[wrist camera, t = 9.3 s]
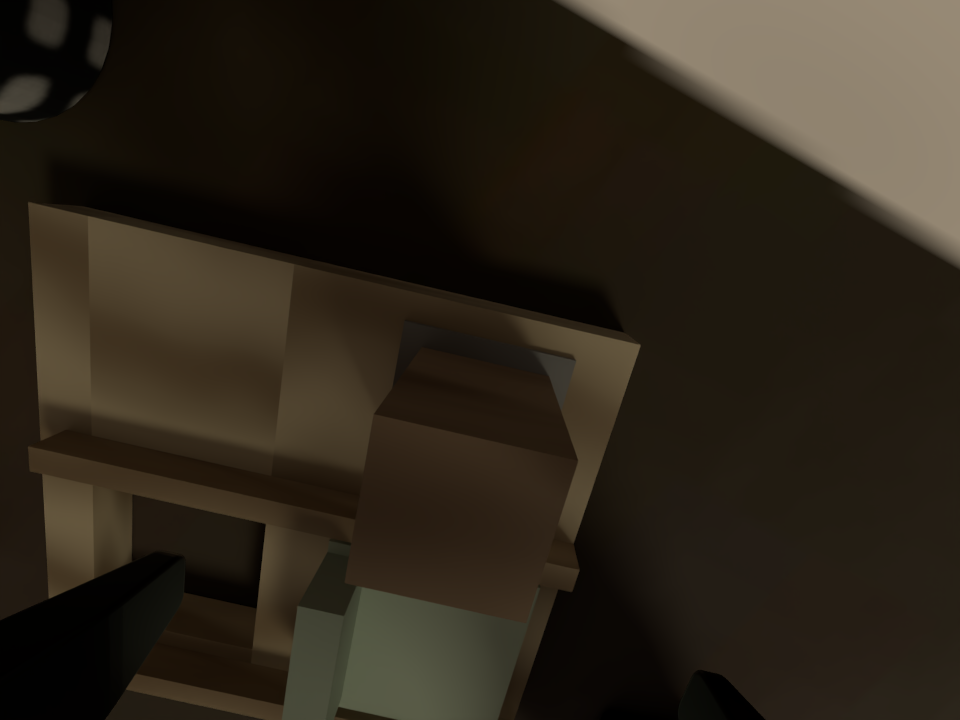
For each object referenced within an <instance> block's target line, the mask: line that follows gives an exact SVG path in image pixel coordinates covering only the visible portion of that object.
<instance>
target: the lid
mask: <svg viewBox="0 0 960 720" xmlns="http://www.w3.org/2000/svg"><path fill="white" fill-rule="evenodd" d="M350 548H351V543H350V542H345V541H341V540H336V539H332V538H331V539H330V540H329V545H328V552H327V554H326V556H325V557H324V559H323V561H322V563H321V565H320V566H319V568H318V570H317V572H316V574H315V576H314V577H313V579H312V581H311V583H310V585H309V586H308V588H307V590H306V592H305V594H304V596H303V597H302V599H301V601H300V603H299V605H298V608H297V615H296V622H295V629H294V636H293V644H292V651H291V658H290V665H289V672H288V679H287V686H286V694H285V701H284V708H283V715H282V720H334V718H335V715H336V712H337V709H338V707H342V708H346V709H351V710H355V711H360V712H365V713H369V714H374V715H378V716H383V717H388V718H392V719H397V720H498V717H499V714H500V711H501V708H502V705H503V702H504V699H505V695H506V692H507V689H508V686H509V683H510V680H511V677H512V674H513V671H514V668H515V665H516V661H517V658H518V655H519V652H520V649H521V646H522V643H523V640H524V637H525V634H526V631H527V627H528V624H529V621H530V618H531V615H532V612H533V609H534V606H535V603H536V600H537V597H538V593H539V590H540V585H538V588H537V591H536V594H535V598H534V601H533V604H532V607H531V610H530V613H529V616H528V619H527V622H526V623H522V622H517V621H513V620H508V619H504V618H499V617H495V616H490V615H486V614H481V613H477V612H472V611H468V610H463V609H459V608H454V607H450V606H445V605H441V604H436V603H432V602H427V601H423V600H418V599H414V598H409V597H405V596H400V595H396V594H391V593H387V592H382V591H378V590H373V589H368V588H364V587H359V586H355V585H350V584H346V583H344V582H345V576H346V571H347V565H348V559H349V553H350Z"/></svg>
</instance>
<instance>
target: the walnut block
mask: <svg viewBox="0 0 960 720" xmlns="http://www.w3.org/2000/svg"><path fill="white" fill-rule="evenodd" d="M577 464H578V458H577V455H576V452H575V450H574V447H573V444H572V441H571V438H570V435H569V432H568V429H567V426H566V424H565V421H564V418H563V415H562V412H561V409H560V406H559V403H558V400H557V398H556V395H555V392H554V389H553V386H552V383H551V380H550V377H549V376H545V375H541V374H537V373H532V372H528V371H524V370H519V369H515V368H511V367H506V366H502V365H498V364H493V363H489V362H485V361H480V360H476V359H472V358H468V357H463V356H459V355H455V354H450V353H446V352H442V351H437V350H433V349H429V348H424V347H421V349H420V350H419V352H418V353H417V354H416V356H415V357H414V359H413V360H412V361H411V363H410V364H409V366H408V367H407V368H406V370H405V371H404V373H403V374H402V375H401V377H400V378H399V379H398V381H397V382H396V384H395V385H394V386H393V388H392V389H391V391H390V392H389V393H388V395H387V396H386V398H385V399H384V400H383V402H382V403H381V405H380V406H379V407H378V409H377V410H376V411H375V413H374V415H373V421H372V426H371V432H370V438H369V444H368V449H367V455H366V461H365V467H364V473H363V478H362V484H361V490H360V496H359V501H358V507H357V513H356V519H355V524H354V530H353V536H352V542H351V548H350V553H349V559H348V565H347V571H346V576H345V582H344V583H346V584H350V585H355V586H359V587H364V588H368V589H373V590H378V591H382V592H387V593H391V594H396V595H400V596H405V597H409V598H414V599H418V600H423V601H427V602H432V603H436V604H441V605H445V606H450V607H454V608H459V609H463V610H468V611H472V612H477V613H481V614H486V615H490V616H495V617H499V618H504V619H508V620H513V621H517V622H522V623H526V622H527V619H528V616H529V613H530V610H531V607H532V604H533V601H534V598H535V594H536V591H537V588H538V585H539V582H540V579H541V576H542V573H543V570H544V566H545V563H546V560H547V557H548V554H549V551H550V548H551V545H552V542H553V538H554V535H555V532H556V529H557V526H558V523H559V520H560V517H561V514H562V510H563V507H564V504H565V501H566V498H567V495H568V492H569V489H570V486H571V482H572V479H573V476H574V473H575V470H576V467H577Z"/></svg>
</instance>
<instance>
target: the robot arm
mask: <svg viewBox="0 0 960 720" xmlns="http://www.w3.org/2000/svg"><path fill="white" fill-rule="evenodd" d="M185 565H186V562H185V558H184V556H183V555H181V554H177V553H172V552H168V551H163V550H159V551H155V552H152V553H150V554H148V555H145V556H143V557H141V558H139V559H136V560H134V561H132V562H130V563H128V564H125V565H123V566H121V567H119V568H116V569H114V570H112V571H110V572H107V573H105V574H103V575H101V576H98V577H96V578H94V579H92V580H90V581H87V582H85V583H83V584H81V585H78V586H76V587H74V588H72V589H69V590H67V591H65V592H63V593H60V594H58V595H56V596H54V597H51V598H49V599H47V600H45V601H43V602H40V603H38V604H36V605H34V606H31V607H29V608H27V609H25V610H22V611H20V612H18V613H16V614H13V615H11V616H9V617H7V618H5V619H2V620H0V720H105V719H106V717H107V716H108V715H109V713H110V712H111V710H112V709H113V708H114V706H115V705H116V703H117V702H118V700H119V699H120V697H121V696H122V694H123V693H124V691H125V690H126V688H127V687H128V685H129V684H130V682H131V681H132V679H133V678H134V676H135V675H136V673H137V671H138V670H139V668H140V667H141V665H142V664H143V662H144V661H145V659H146V658H147V656H148V655H149V653H150V652H151V650H152V649H153V647H154V646H155V644H156V642H157V641H158V639H159V638H160V636H161V635H162V633H163V632H164V630H165V629H166V627H167V626H168V624H169V623H170V621H171V620H172V618H173V616H174V615H175V613H176V612H177V610H178V609H179V607H180V605H181V602H182V600H183V596H184V584H185ZM600 720H652V719H647V718H643V717H638V716H634V715H629V714H624V713H620V712H615V711H608V712H606V713H604V714H603V715H602V717H601V719H600ZM678 720H765V719H764V718H763V717H762V716H761V715H760V714H759V712H758V711H757V710H756V709H755V708H754V707H753V706H752V705H751V704H750V703H749V702H748V701H747V700H746V699H745V698H744V697H743V696H742V695H741V694H740V693H739V692H738V690H737V689H736V688H735V687H734V686H733V685H732V684H731V683H730V682H729V681H728V680H727V679H726V678H725V677H723V676H722V675H720V674H716V673H712V672H707V671H703V670H698V671H696V672H695V673H694V674H693V675H692V677H691V680H690V682H689V684H688V686H687V688H686V690H685V692H684V694H683V697H682V699H681V701H680V703H679V708H678Z"/></svg>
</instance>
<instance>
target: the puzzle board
mask: <svg viewBox="0 0 960 720" xmlns="http://www.w3.org/2000/svg"><path fill="white" fill-rule="evenodd" d="M28 206H29V225H30V244H31V263H32V282H33V301H34V321H35V340H36V359H37V378H38V397H39V416H40V435H41V441H39V442H37V443H35V444H33V445H30V446H28V451H29V467H30V471H32V472H36V473H40V474H43V493H44V512H45V531H46V550H47V569H48V588H49V598H51V597H54V596H56V595H58V594H60V593H63V592H65V591H67V590H69V589H72V588H74V587H76V586H78V585H81V584H83V583H85V582H87V581H90V580H92V579H94V578H96V577H98V576H101V575H103V574H105V573H107V572H110V571H112V570H114V569H116V568H119V567H121V566H123V565H125V564H128V563H130V562H132V495H133V494H135V495H139V496H144V497H148V498H153V499H157V500H161V501H166V502H170V503H175V504H179V505H184V506H188V507H193V508H197V509H202V510H206V511H211V512H215V513H220V514H224V515H229V516H233V517H238V518H242V519H247V520H251V521H256V522H260V523H265V524H266V529H265V538H264V548H263V557H262V566H261V575H260V584H259V594H258V603H257V608H252V607H248V606H243V605H239V604H234V603H229V602H225V601H220V600H216V599H211V598H207V597H202V596H198V595H193V594H188V593H184V596H183V600H182V602H181V605H180V607H179V609H178V610H177V612H176V613H175V615H174V616H173V618H172V620H171V621H170V623H169V624H168V626H167V627H166V629H165V630H164V632H163V633H162V635H161V636H160V638H159V639H158V641H157V642H156V644H155V646H154V647H153V649H152V650H151V652H150V653H149V655H148V656H147V658H146V659H145V661H144V662H143V664H142V665H141V667H140V668H139V670H138V671H137V673H136V675H135V676H134V678H133V679H132V681H131V682H130V684H129V685H128V687H127V688H126V690H131V691H135V692H140V693H145V694H149V695H154V696H158V697H163V698H168V699H172V700H177V701H182V702H186V703H191V704H196V705H200V706H205V707H209V708H214V709H219V710H223V711H228V712H233V713H237V714H242V715H247V716H251V717H256V718H260V719H265V720H282V715H283V708H284V701H285V694H286V686H287V679H288V672H289V665H290V658H291V651H292V644H293V636H294V629H295V622H296V615H297V608H298V605H299V603H300V601H301V599H302V597H303V596H304V594H305V592H306V590H307V588H308V586H309V585H310V583H311V581H312V579H313V577H314V576H315V574H316V572H317V570H318V568H319V566H320V565H321V563H322V561H323V559H324V557H325V556H326V554H327V552H328V545H329V540H330V539H331V538H332V539H336V540H341V541H345V542H350V543H351V542H352V536H353V530H354V524H355V519H356V513H357V507H358V501H359V496H360V490H361V484H362V478H363V473H364V467H365V461H366V455H367V449H368V444H369V438H370V432H371V426H372V421H373V415H374V413H375V411H376V410H377V409H378V407H379V406H380V405H381V403H382V402H383V400H384V399H385V398H386V396H387V395H388V393H389V392H390V391H391V389H392V388H393V386H394V385H395V384H396V382H397V381H398V379H399V378H400V377H401V375H402V374H403V373H404V371H405V370H406V368H407V367H408V366H409V364H410V363H411V361H412V360H413V359H414V357H415V356H416V354H417V353H418V352H419V350H420V349H421V347H424V348H429V349H433V350H437V351H442V352H446V353H450V354H455V355H459V356H463V357H468V358H472V359H476V360H480V361H485V362H489V363H493V364H498V365H502V366H506V367H511V368H515V369H519V370H524V371H528V372H532V373H537V374H541V375H545V376H549V377H550V380H551V383H552V386H553V389H554V392H555V395H556V398H557V400H558V403H559V406H560V409H561V412H562V415H563V418H564V421H565V424H566V426H567V429H568V432H569V435H570V438H571V441H572V444H573V447H574V450H575V452H576V455H577V458H578V464H577V467H576V470H575V473H574V476H573V479H572V482H571V486H570V489H569V492H568V495H567V498H566V501H565V504H564V507H563V510H562V514H561V517H560V520H559V523H558V526H557V529H556V532H555V535H554V538H553V542H552V545H551V548H550V551H549V554H548V557H547V560H546V563H545V566H544V570H543V573H542V576H541V579H540V582H539V585H540V590H539V593H538V597H537V600H536V603H535V606H534V609H533V612H532V615H531V618H530V621H529V624H528V627H527V631H526V634H525V637H524V640H523V643H522V646H521V649H520V652H519V655H518V658H517V661H516V665H515V668H514V671H513V674H512V677H511V680H510V683H509V686H508V689H507V692H506V695H505V699H504V702H503V705H502V708H501V711H500V714H499V717H498V720H514V719H515V716H516V713H517V710H518V707H519V704H520V701H521V698H522V695H523V692H524V689H525V686H526V683H527V680H528V677H529V674H530V671H531V668H532V665H533V663H534V660H535V657H536V654H537V651H538V648H539V645H540V642H541V639H542V636H543V633H544V630H545V627H546V624H547V621H548V618H549V615H550V612H551V609H552V606H553V603H554V600H555V597H556V594H557V591H558V589H560V590H565V591H569V592H572V591H573V588H574V585H575V582H576V579H577V576H578V573H579V570H580V569H579V565H578V561H577V557H576V552H575V548H574V541H575V538H576V535H577V532H578V529H579V526H580V523H581V520H582V517H583V514H584V511H585V509H586V506H587V503H588V500H589V497H590V494H591V491H592V488H593V485H594V482H595V479H596V476H597V473H598V470H599V467H600V464H601V461H602V458H603V455H604V452H605V449H606V446H607V443H608V440H609V437H610V434H611V432H612V429H613V426H614V423H615V420H616V417H617V414H618V411H619V408H620V405H621V402H622V399H623V396H624V393H625V390H626V387H627V384H628V381H629V378H630V375H631V372H632V369H633V366H634V363H635V360H636V358H637V355H638V352H639V349H640V346H641V345H640V344H639V343H637V342H636V341H635V340H633V339H632V338H631V337H630V336H628V335H627V334H626V333H623V332H619V331H615V330H611V329H606V328H602V327H598V326H594V325H589V324H585V323H581V322H576V321H572V320H568V319H564V318H559V317H555V316H551V315H546V314H542V313H538V312H534V311H529V310H525V309H521V308H517V307H512V306H508V305H504V304H499V303H495V302H491V301H487V300H482V299H478V298H474V297H469V296H465V295H461V294H457V293H452V292H448V291H444V290H440V289H435V288H431V287H427V286H422V285H418V284H414V283H410V282H405V281H401V280H397V279H392V278H388V277H384V276H380V275H375V274H371V273H367V272H363V271H358V270H354V269H350V268H345V267H341V266H337V265H333V264H328V263H324V262H320V261H315V260H311V259H307V258H303V257H298V256H294V255H290V254H286V253H281V252H277V251H273V250H268V249H264V248H260V247H256V246H251V245H247V244H243V243H238V242H234V241H230V240H226V239H221V238H217V237H213V236H209V235H204V234H200V233H196V232H191V231H187V230H183V229H179V228H174V227H170V226H166V225H161V224H157V223H153V222H149V221H144V220H140V219H136V218H132V217H127V216H123V215H119V214H114V213H110V212H106V211H102V210H97V209H93V208H89V207H84V206H74V205H61V204H47V203H34V202H28ZM334 720H397V719H392V718H388V717H383V716H378V715H374V714H369V713H365V712H360V711H355V710H351V709H346V708H342V707H338V709H337V712H336V715H335V718H334Z"/></svg>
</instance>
